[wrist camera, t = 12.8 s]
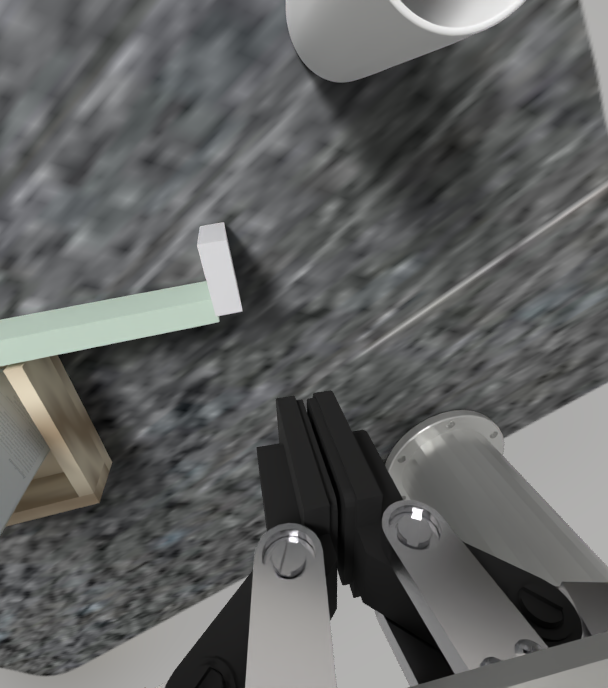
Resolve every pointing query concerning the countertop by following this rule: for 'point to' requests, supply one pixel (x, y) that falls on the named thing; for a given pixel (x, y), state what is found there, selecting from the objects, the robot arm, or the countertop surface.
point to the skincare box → (16, 450)
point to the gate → (129, 311)
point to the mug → (383, 31)
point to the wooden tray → (58, 442)
